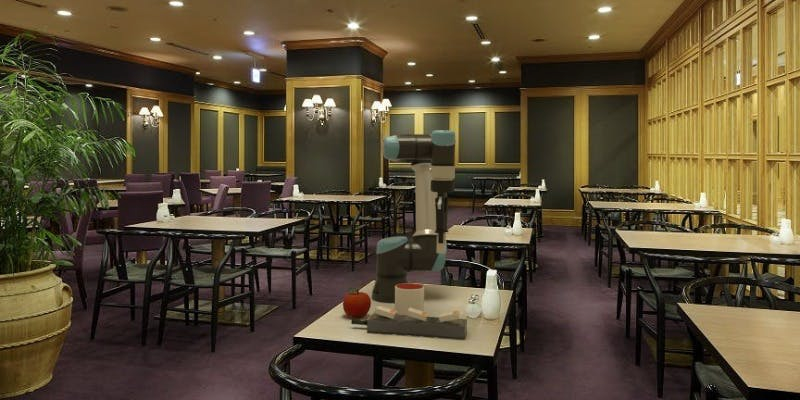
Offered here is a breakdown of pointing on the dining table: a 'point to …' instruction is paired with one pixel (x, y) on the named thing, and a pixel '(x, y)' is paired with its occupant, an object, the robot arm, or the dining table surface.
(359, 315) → the fruit
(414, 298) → the cup
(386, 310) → the block
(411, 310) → the rocker
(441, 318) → the rocker
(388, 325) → the power strip
